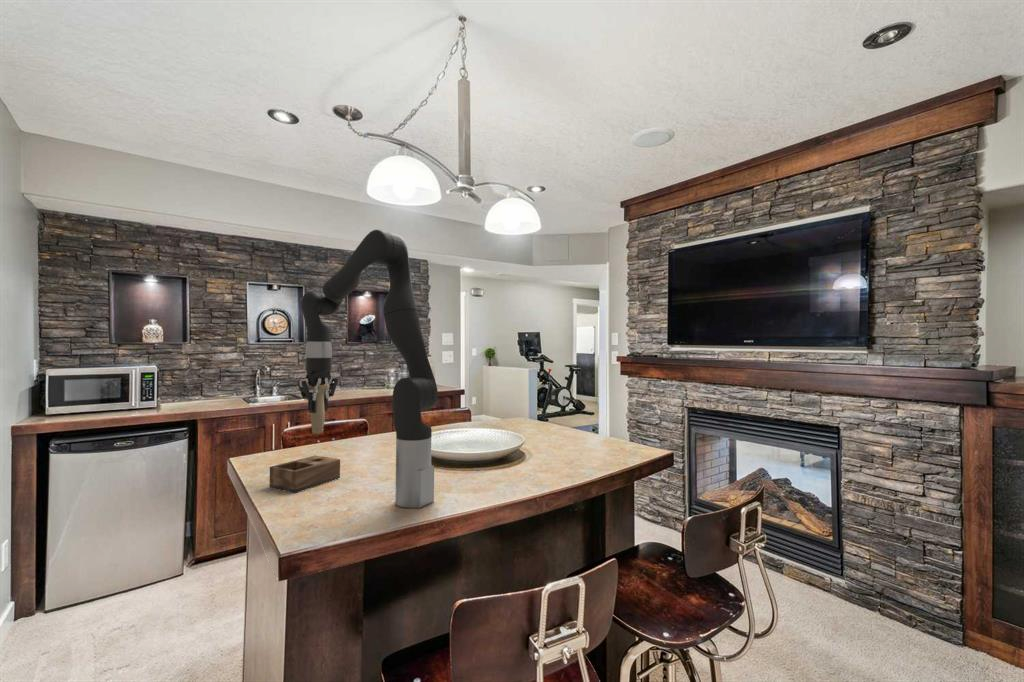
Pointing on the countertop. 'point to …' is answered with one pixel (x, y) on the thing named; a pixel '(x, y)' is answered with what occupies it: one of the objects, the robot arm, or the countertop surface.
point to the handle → (318, 410)
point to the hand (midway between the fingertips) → (318, 411)
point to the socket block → (304, 473)
